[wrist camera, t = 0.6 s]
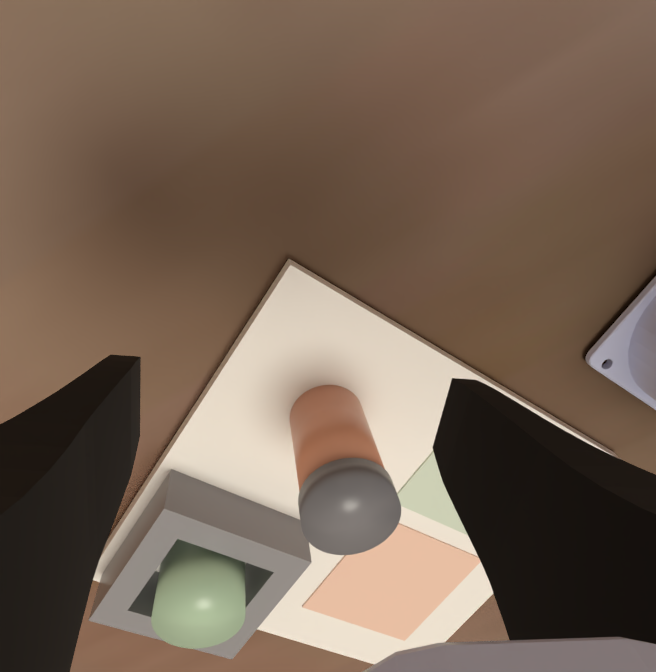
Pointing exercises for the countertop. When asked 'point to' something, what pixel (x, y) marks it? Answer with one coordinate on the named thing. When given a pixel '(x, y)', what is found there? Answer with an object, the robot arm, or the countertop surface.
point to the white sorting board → (283, 490)
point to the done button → (198, 597)
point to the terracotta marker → (340, 474)
